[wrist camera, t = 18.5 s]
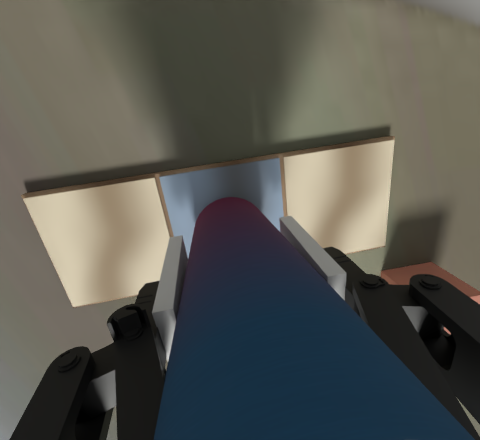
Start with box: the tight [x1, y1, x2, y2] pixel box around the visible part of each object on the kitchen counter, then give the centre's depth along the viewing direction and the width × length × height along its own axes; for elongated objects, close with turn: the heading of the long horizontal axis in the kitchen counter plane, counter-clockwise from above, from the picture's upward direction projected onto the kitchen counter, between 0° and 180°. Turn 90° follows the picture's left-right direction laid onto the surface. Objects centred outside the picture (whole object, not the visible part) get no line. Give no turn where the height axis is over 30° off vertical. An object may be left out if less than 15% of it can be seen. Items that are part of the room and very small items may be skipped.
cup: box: [154, 197, 475, 440], centre depth 11 cm, size 7×7×15 cm
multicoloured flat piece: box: [21, 136, 395, 308], centre depth 20 cm, size 26×9×1 cm, turn 97°
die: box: [381, 262, 480, 335], centre depth 23 cm, size 5×5×5 cm
